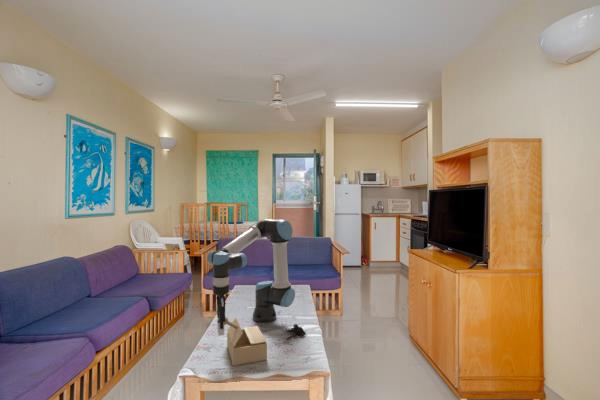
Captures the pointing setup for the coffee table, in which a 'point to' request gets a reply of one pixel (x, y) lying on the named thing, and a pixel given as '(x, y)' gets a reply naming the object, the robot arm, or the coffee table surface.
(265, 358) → the carton
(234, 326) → the flap outer
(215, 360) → the coffee table surface
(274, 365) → the coffee table surface
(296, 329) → the stuffed animal
